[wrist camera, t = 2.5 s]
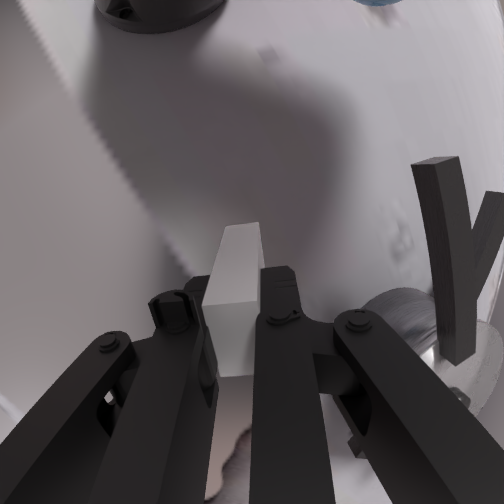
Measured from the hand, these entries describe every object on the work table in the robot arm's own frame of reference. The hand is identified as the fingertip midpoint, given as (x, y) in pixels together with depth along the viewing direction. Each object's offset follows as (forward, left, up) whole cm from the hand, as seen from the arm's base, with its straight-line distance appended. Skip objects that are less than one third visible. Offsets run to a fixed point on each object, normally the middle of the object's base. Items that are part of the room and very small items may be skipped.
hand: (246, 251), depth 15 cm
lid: (+17, +14, -5) cm, 22 cm away
